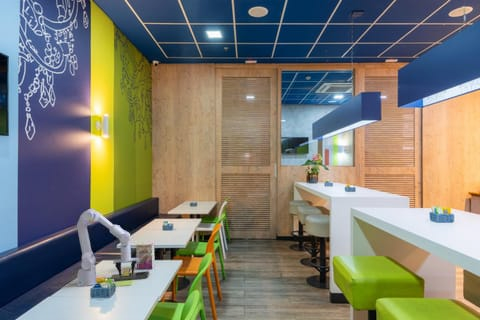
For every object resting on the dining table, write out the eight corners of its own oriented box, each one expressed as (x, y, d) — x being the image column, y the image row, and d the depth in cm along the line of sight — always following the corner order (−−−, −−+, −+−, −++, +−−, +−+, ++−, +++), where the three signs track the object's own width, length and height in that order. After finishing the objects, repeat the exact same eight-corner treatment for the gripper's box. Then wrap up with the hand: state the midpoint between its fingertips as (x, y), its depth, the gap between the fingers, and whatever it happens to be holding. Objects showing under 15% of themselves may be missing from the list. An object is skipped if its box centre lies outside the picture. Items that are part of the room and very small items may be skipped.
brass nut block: (122, 280, 183) (122, 271, 183) (124, 277, 187) (123, 268, 187) (129, 279, 184) (129, 270, 184) (130, 277, 188) (130, 268, 188)
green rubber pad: (113, 287, 173) (113, 286, 173) (116, 282, 180) (116, 281, 180) (131, 285, 174) (131, 284, 174) (133, 280, 181) (133, 279, 181)
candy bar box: (136, 269, 201) (135, 245, 201) (139, 266, 206) (138, 243, 206) (152, 269, 200) (151, 244, 200) (155, 266, 205) (154, 242, 205)
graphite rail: (109, 282, 181) (109, 278, 181) (112, 277, 188) (112, 274, 188) (147, 278, 184) (147, 275, 184) (149, 274, 191) (149, 271, 191)
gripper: (139, 249, 191) (139, 270, 191) (115, 251, 188) (115, 272, 188) (136, 252, 184) (137, 274, 184) (112, 254, 181) (112, 277, 181)
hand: (126, 274), depth 185 cm, fingers open, 7 cm apart
